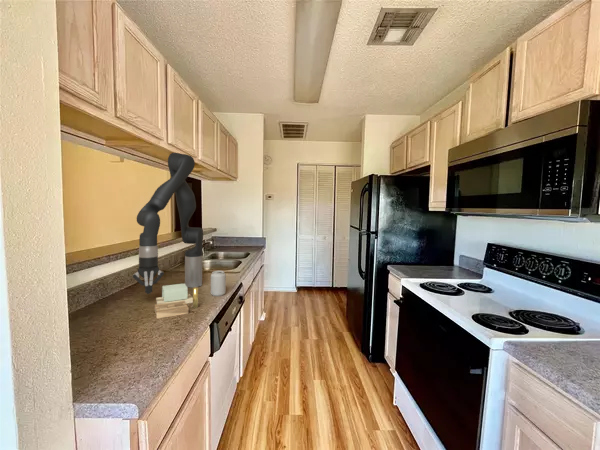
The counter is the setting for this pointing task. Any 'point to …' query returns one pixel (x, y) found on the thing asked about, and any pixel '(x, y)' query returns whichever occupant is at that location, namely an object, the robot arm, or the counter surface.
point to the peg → (195, 297)
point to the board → (188, 300)
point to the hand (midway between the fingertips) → (148, 293)
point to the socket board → (171, 309)
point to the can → (218, 283)
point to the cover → (174, 292)
